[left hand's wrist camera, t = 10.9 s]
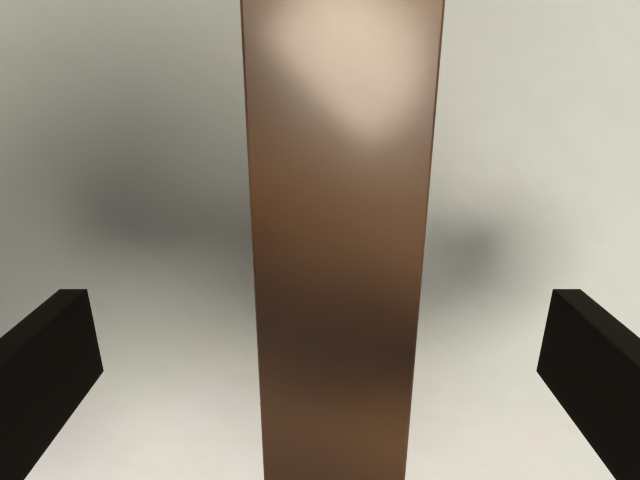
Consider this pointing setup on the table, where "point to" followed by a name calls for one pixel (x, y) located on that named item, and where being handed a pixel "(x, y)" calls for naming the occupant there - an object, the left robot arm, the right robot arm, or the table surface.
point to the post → (338, 225)
